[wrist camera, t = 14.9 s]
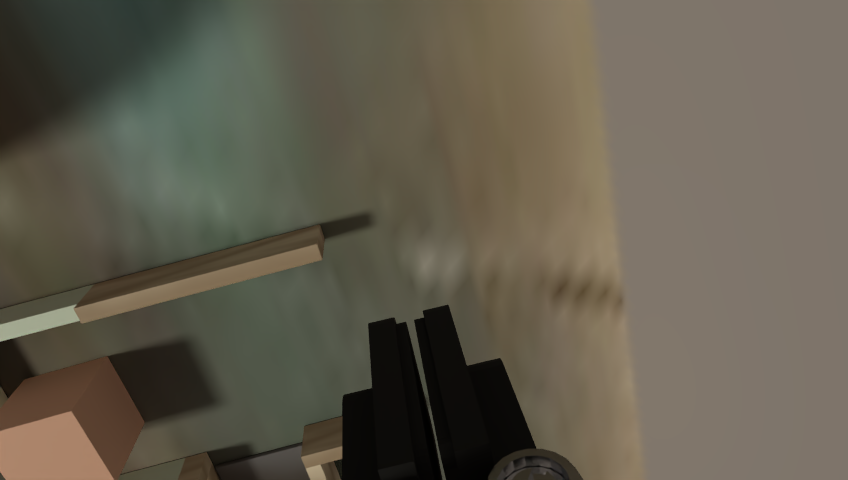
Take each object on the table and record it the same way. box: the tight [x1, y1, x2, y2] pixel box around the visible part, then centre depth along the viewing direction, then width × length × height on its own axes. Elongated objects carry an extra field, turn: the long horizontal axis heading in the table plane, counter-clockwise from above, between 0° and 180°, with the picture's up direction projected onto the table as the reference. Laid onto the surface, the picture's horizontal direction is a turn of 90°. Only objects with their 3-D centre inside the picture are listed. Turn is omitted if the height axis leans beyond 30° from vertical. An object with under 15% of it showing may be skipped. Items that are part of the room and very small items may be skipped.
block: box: [0, 356, 145, 480], centre depth 38 cm, size 6×6×6 cm
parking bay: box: [73, 224, 342, 480], centre depth 40 cm, size 21×14×3 cm, turn 14°
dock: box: [0, 284, 185, 480], centre depth 39 cm, size 15×10×2 cm, turn 14°
